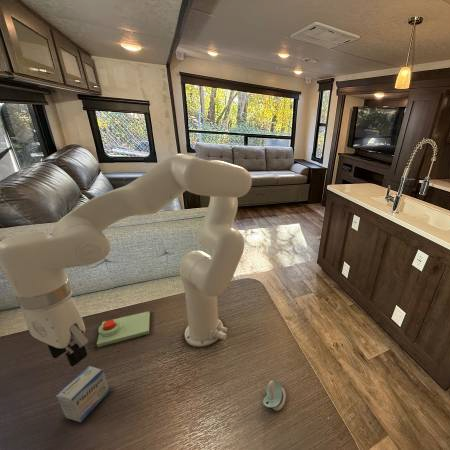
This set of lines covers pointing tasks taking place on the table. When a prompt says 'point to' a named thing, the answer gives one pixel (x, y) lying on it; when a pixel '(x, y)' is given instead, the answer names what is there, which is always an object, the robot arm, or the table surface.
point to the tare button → (109, 325)
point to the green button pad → (125, 329)
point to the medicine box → (83, 394)
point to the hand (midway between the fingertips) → (70, 356)
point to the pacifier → (274, 395)
